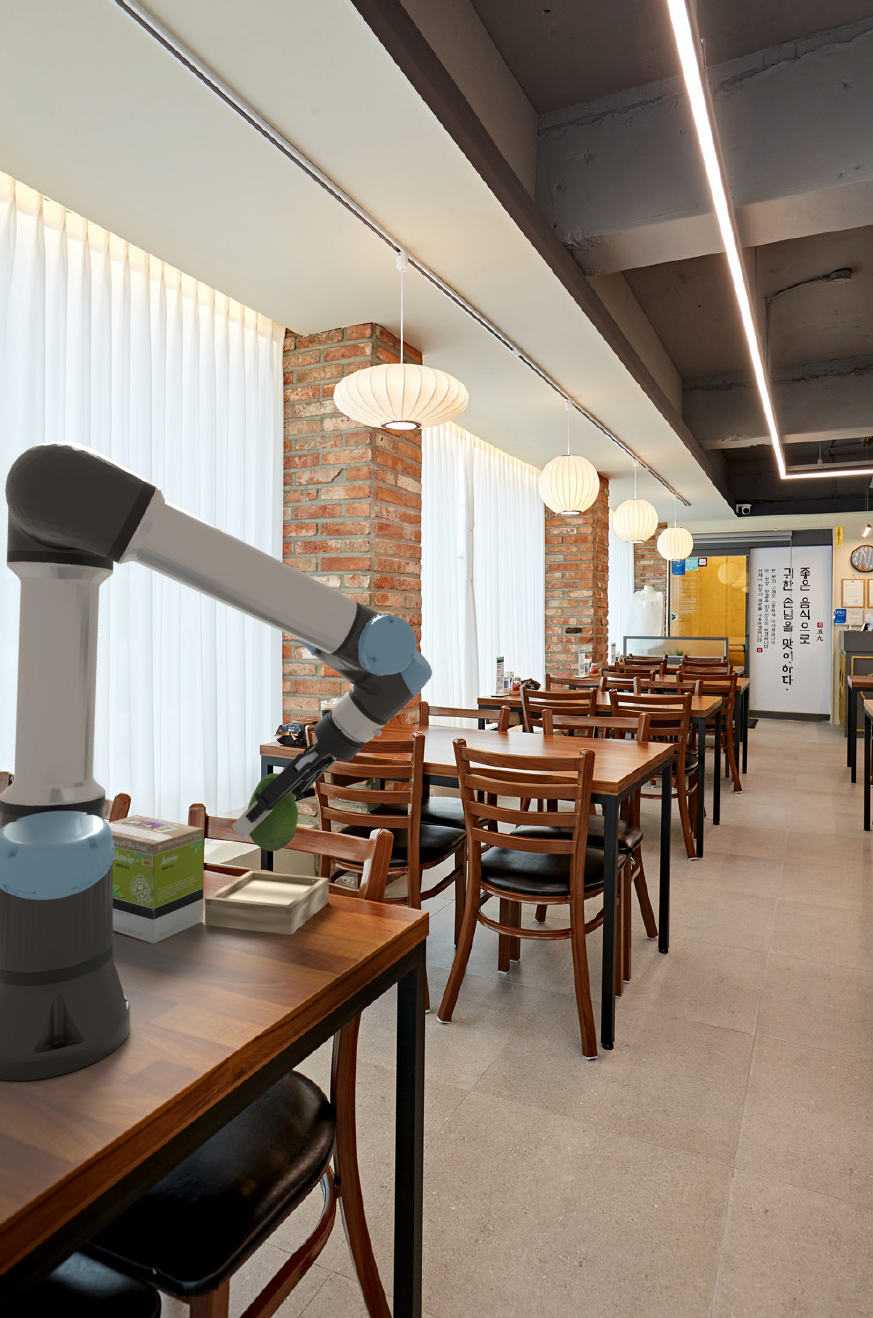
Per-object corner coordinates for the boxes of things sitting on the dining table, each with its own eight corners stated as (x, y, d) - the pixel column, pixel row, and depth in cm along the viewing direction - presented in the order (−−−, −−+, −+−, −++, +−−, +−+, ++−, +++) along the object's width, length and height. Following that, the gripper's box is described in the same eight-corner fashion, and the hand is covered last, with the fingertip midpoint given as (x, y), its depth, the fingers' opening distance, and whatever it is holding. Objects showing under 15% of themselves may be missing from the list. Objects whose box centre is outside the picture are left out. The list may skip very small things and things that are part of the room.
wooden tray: (291, 935, 110) (291, 907, 110) (205, 924, 114) (205, 898, 114) (328, 902, 124) (328, 878, 124) (250, 893, 127) (250, 870, 127)
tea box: (81, 925, 113) (81, 826, 113) (136, 904, 122) (136, 812, 122) (153, 945, 106) (153, 841, 106) (206, 922, 115) (206, 825, 114)
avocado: (304, 843, 122) (304, 769, 121) (287, 858, 114) (287, 778, 114) (256, 841, 123) (256, 767, 123) (237, 855, 115) (237, 777, 115)
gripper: (339, 755, 104) (233, 862, 109) (386, 735, 124) (295, 826, 129) (303, 716, 105) (200, 823, 110) (355, 702, 125) (266, 793, 130)
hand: (251, 824), depth 119 cm, fingers closed on avocado, 8 cm apart
